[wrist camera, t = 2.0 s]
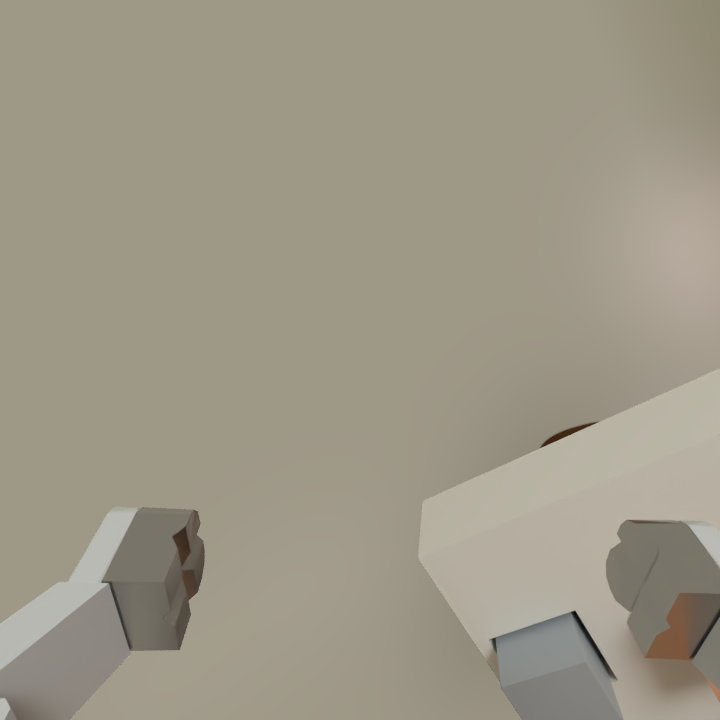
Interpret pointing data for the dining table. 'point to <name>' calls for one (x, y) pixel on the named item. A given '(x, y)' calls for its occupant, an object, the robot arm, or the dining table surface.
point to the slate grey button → (556, 672)
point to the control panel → (582, 537)
